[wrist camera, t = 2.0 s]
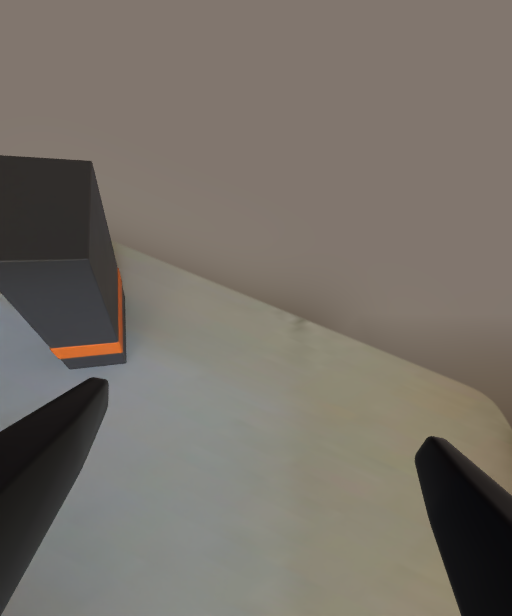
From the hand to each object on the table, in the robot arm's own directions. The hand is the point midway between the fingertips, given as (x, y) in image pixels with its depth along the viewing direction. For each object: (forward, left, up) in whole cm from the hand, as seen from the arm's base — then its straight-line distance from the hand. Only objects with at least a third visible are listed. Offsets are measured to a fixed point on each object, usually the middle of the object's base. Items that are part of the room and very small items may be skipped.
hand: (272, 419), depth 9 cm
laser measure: (-3, +12, -15) cm, 19 cm away
